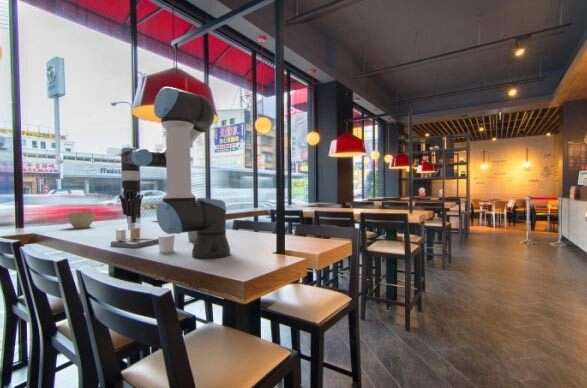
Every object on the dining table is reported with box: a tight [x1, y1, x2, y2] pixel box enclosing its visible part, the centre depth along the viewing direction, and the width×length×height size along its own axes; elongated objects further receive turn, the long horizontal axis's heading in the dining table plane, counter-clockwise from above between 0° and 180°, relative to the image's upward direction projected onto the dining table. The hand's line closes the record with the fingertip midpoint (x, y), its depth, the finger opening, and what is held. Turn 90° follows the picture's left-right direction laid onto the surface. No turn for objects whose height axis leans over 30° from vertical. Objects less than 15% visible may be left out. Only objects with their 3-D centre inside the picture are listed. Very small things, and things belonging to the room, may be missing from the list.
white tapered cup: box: [157, 233, 176, 254], centre depth 131 cm, size 7×7×7 cm
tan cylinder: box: [130, 227, 141, 238], centre depth 152 cm, size 3×3×5 cm
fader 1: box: [115, 228, 127, 241], centre depth 146 cm, size 3×3×5 cm
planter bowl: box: [66, 211, 96, 229], centre depth 214 cm, size 16×16×11 cm
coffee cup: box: [187, 231, 197, 243], centre depth 157 cm, size 8×8×12 cm
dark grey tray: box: [110, 237, 159, 249], centre depth 147 cm, size 16×14×2 cm
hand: (131, 229), depth 143 cm, fingers closed
